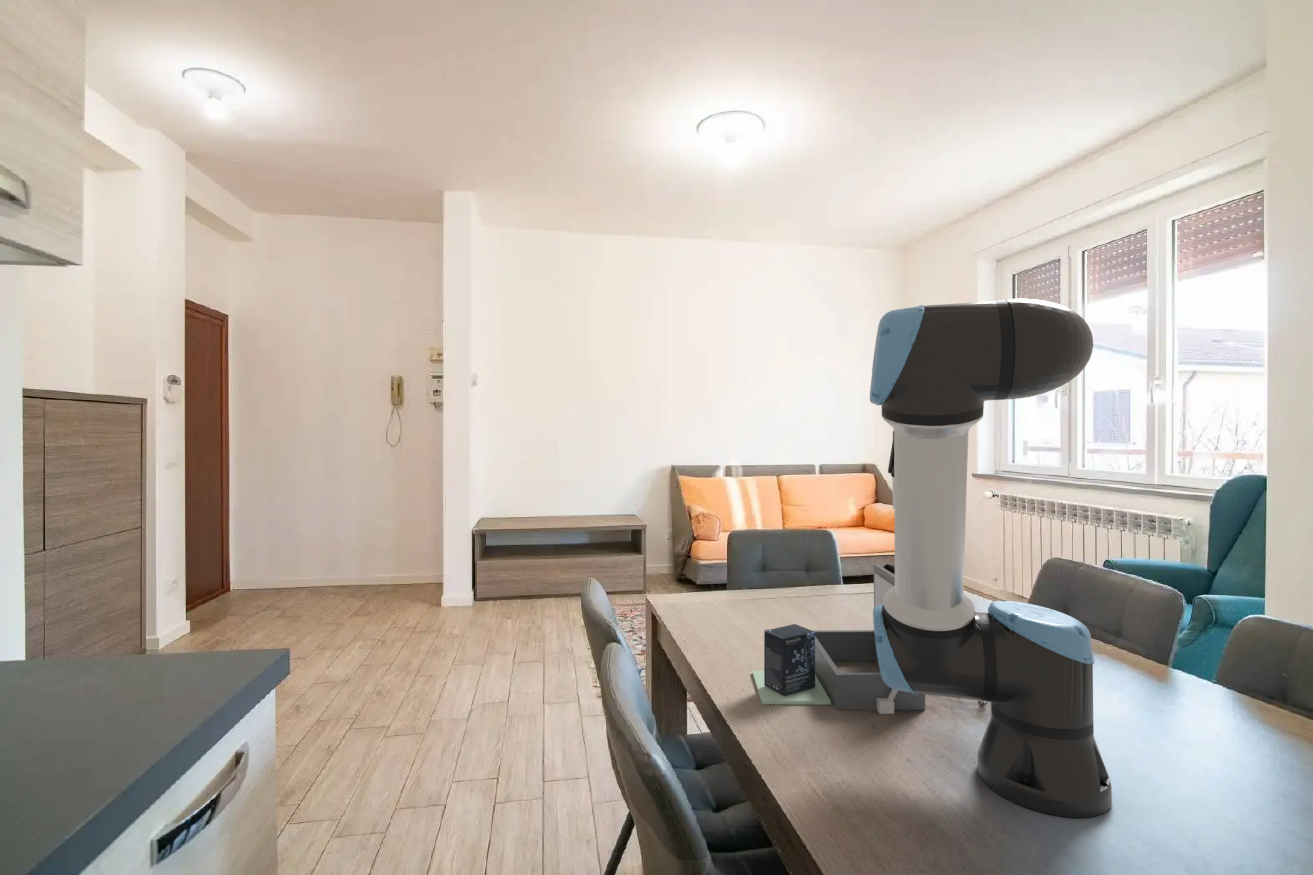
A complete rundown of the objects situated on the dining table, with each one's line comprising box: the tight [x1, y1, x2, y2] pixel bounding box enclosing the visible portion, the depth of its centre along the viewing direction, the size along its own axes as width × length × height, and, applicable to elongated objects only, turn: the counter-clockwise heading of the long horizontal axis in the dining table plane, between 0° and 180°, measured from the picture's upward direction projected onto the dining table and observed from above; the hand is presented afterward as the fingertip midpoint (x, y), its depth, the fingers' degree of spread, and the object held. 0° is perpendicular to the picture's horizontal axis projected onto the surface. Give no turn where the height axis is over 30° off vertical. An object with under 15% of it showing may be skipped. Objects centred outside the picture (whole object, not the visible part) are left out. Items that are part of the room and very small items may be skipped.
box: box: [763, 623, 816, 696], centre depth 112 cm, size 8×6×11 cm
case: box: [813, 563, 926, 715], centre depth 115 cm, size 26×16×20 cm, turn 178°
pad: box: [751, 670, 832, 706], centre depth 113 cm, size 14×12×1 cm
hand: (912, 512), depth 119 cm, fingers open, 13 cm apart
